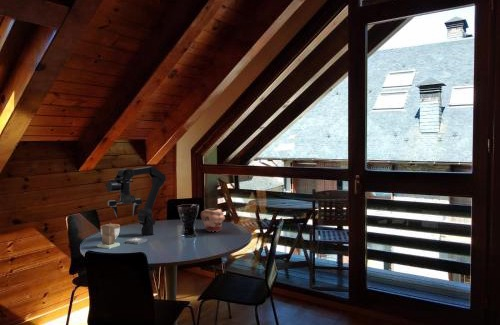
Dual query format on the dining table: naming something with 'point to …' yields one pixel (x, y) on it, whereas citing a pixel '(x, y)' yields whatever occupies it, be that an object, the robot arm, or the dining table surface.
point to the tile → (136, 240)
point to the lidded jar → (117, 229)
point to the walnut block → (108, 234)
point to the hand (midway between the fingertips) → (125, 217)
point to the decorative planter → (212, 219)
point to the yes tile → (108, 245)
